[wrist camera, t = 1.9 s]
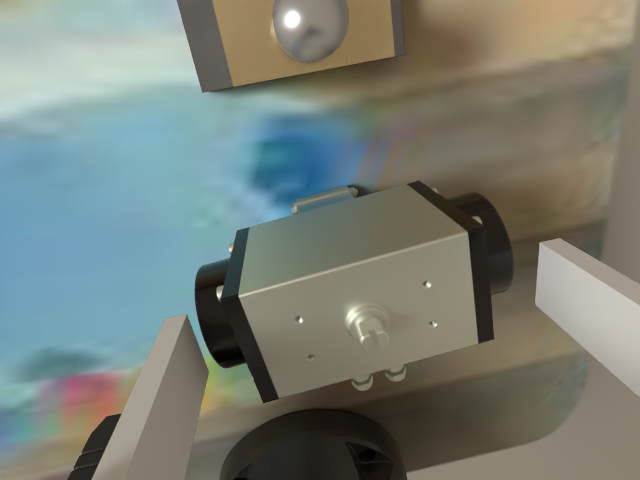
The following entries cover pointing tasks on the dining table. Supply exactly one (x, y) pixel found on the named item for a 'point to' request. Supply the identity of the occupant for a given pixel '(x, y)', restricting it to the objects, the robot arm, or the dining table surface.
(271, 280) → the pneumatic valve
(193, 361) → the robot arm
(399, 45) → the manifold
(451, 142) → the dining table surface
